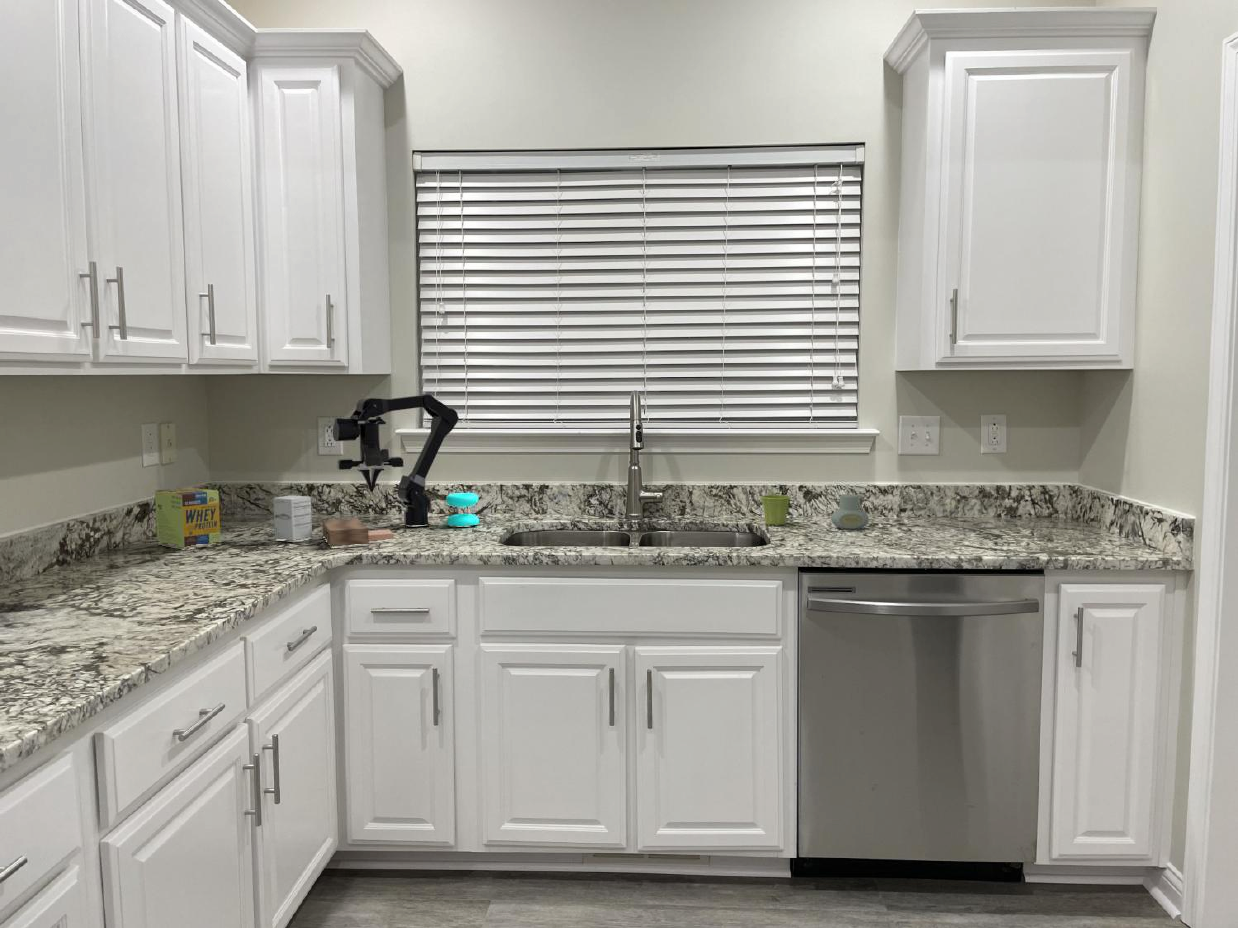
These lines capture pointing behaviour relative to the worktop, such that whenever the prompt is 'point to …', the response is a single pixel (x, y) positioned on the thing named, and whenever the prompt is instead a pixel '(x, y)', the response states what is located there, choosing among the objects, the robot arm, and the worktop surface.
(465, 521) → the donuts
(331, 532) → the shelf
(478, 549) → the worktop surface
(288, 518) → the supplement box
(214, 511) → the protein box
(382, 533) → the tile
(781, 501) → the plant pot
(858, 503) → the air freshener
